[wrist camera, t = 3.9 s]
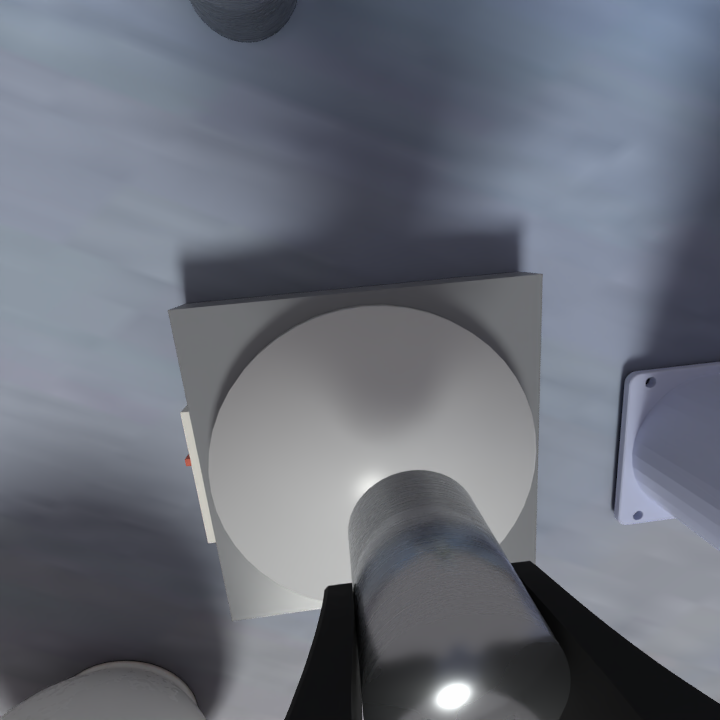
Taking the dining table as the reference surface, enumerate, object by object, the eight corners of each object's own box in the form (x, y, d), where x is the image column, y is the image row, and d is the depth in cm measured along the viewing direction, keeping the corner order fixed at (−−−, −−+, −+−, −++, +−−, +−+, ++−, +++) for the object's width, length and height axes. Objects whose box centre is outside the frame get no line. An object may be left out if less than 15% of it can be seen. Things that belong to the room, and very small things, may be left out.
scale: (518, 271, 18) (553, 275, 15) (516, 548, 21) (543, 591, 19) (169, 305, 17) (139, 315, 14) (227, 588, 20) (212, 639, 18)
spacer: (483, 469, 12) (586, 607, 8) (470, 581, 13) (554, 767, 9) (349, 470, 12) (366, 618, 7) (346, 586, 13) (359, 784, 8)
